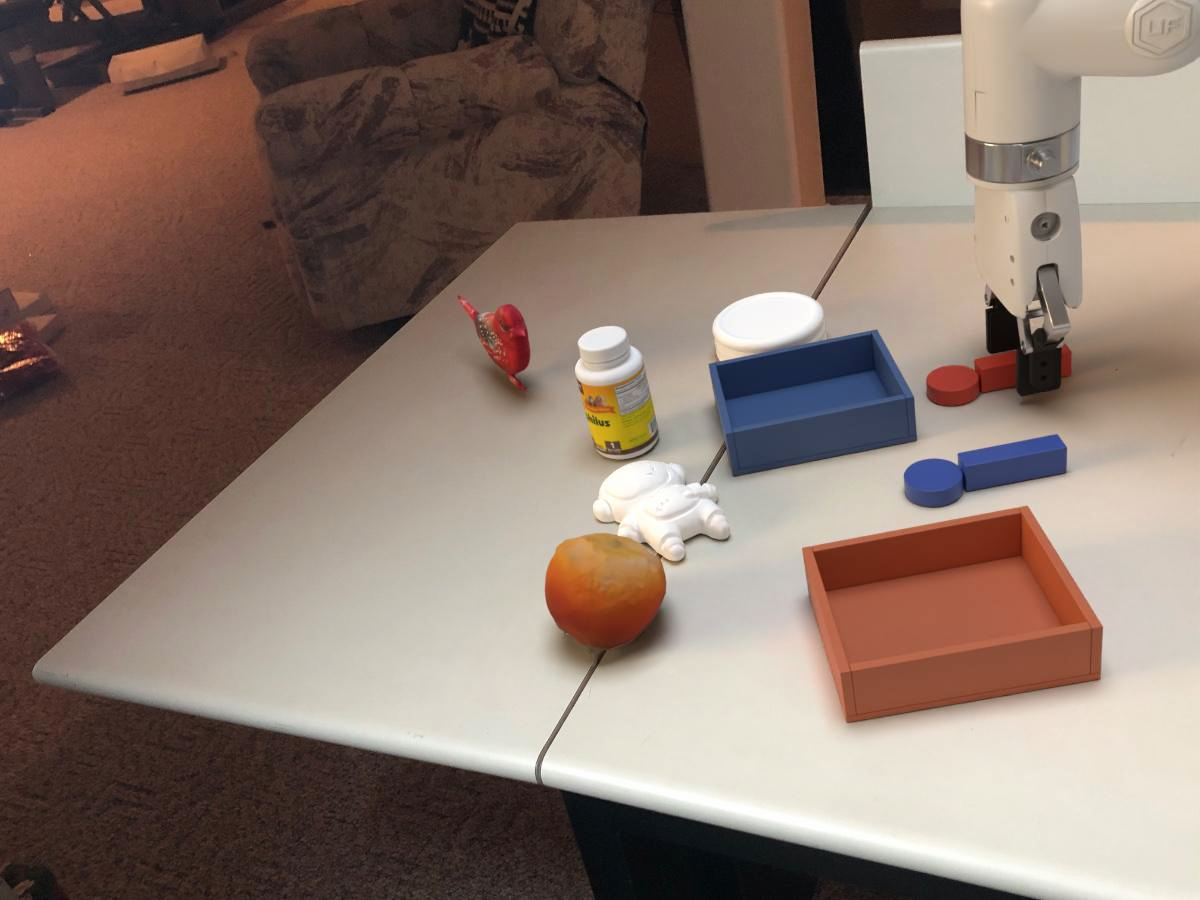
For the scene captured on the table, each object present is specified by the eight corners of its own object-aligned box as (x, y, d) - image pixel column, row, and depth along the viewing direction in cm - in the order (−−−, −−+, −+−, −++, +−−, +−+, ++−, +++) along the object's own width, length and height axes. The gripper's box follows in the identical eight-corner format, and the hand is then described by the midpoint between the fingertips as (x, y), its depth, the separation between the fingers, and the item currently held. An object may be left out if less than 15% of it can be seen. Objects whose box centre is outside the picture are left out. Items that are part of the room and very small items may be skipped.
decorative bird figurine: (533, 417, 98) (504, 320, 92) (462, 353, 112) (433, 265, 106) (560, 404, 99) (533, 307, 93) (486, 343, 113) (459, 255, 107)
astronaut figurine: (642, 580, 76) (634, 547, 74) (580, 499, 85) (572, 468, 84) (751, 531, 78) (745, 498, 76) (678, 457, 87) (672, 426, 86)
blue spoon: (1051, 450, 78) (1051, 425, 77) (1073, 481, 75) (1074, 455, 73) (898, 479, 79) (896, 455, 78) (913, 512, 76) (911, 486, 74)
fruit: (506, 633, 72) (529, 520, 70) (596, 621, 77) (620, 516, 75) (581, 689, 66) (608, 568, 64) (672, 672, 71) (700, 560, 70)
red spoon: (1057, 358, 88) (1057, 334, 86) (1077, 382, 84) (1077, 357, 83) (921, 385, 89) (919, 362, 87) (935, 410, 85) (933, 386, 84)
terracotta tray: (1027, 554, 70) (1027, 504, 68) (1100, 678, 60) (1103, 626, 58) (808, 594, 71) (801, 547, 69) (846, 723, 62) (840, 673, 59)
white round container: (695, 361, 100) (688, 327, 98) (766, 314, 105) (761, 281, 103) (777, 388, 93) (772, 353, 91) (850, 336, 98) (846, 302, 96)
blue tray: (880, 370, 92) (877, 328, 90) (917, 440, 82) (914, 396, 80) (715, 403, 93) (708, 363, 91) (733, 476, 84) (725, 433, 82)
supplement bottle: (584, 444, 92) (555, 339, 87) (640, 417, 94) (615, 313, 88) (614, 471, 88) (586, 362, 82) (672, 443, 89) (649, 334, 84)
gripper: (1130, 179, 69) (1117, 416, 78) (1030, 105, 83) (1030, 312, 93) (1010, 204, 69) (1012, 437, 79) (932, 126, 84) (942, 330, 93)
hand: (1022, 368), depth 86 cm, fingers open, 6 cm apart
